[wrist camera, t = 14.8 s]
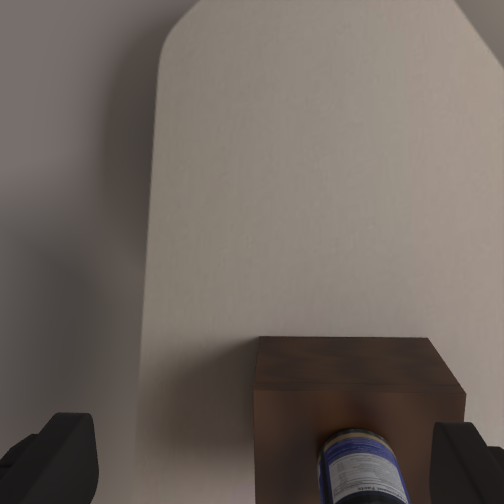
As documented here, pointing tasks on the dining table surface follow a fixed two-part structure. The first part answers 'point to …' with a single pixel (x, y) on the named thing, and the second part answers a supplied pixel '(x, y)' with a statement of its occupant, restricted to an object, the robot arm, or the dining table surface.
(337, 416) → the wooden keepsake box
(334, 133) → the dining table surface
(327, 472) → the pill bottle
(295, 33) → the dining table surface
